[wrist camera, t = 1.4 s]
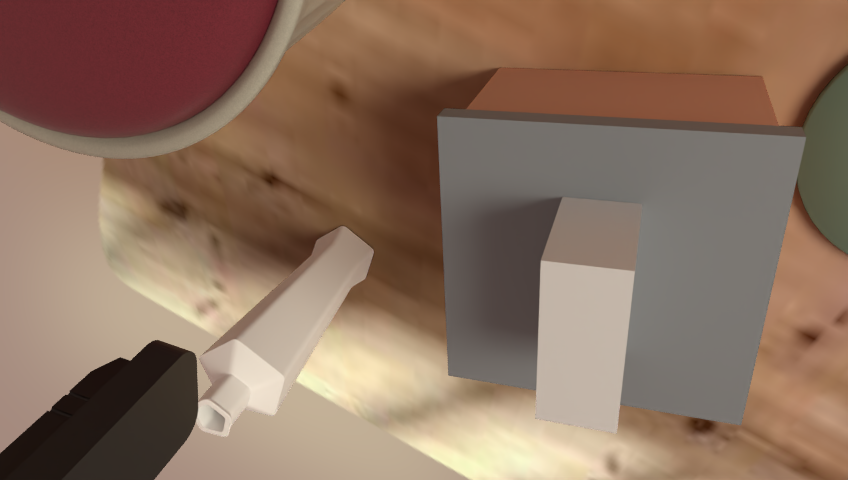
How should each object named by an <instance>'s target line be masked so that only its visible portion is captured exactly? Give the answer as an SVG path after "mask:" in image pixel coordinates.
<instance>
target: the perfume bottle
mask: <svg viewBox="0 0 848 480" xmlns="http://www.w3.org/2000/svg"><path fill="white" fill-rule="evenodd" d="M373 254H374V250H373V249H372V248H371V247H370V246H369V245H368V244H366V243H365V242H364V241H363V240H361V239H360V238H359V237H358V236H356V235H355V234H354V233H353V232H352V231H350V230H349V229H348V228H347V227H345V226H340V227H338V228H337V229H335V230H333V231H331V232H330V233H328V234H326V235H324V236H322V237H321V238H319V239H318V240H317V241H316V244H315V247H314V249H313V252H312V255H311V256H310V257H309V258H308V259H307V260H305V261H304V262H303V263H302V264H301V265H300V266H299V267H298V268H297V269H296V270H294V271H293V272H292V273H291V274H290V275H289V276H288V277H287V278H286V279H285V280H283V281H282V282H281V283H280V284H279V285H278V286H277V287H276V288H275V289H274V290H272V291H271V292H270V293H269V294H268V295H267V296H266V297H265V298H264V299H263V300H262V301H260V302H259V303H258V304H257V305H256V306H255V307H254V308H253V309H252V310H251V311H249V312H248V313H247V314H246V315H245V316H244V317H243V318H242V319H241V320H240V321H238V322H237V323H236V324H235V325H234V326H233V327H232V328H231V329H230V330H229V331H227V332H226V333H225V334H224V335H223V336H222V337H221V338H220V339H219V340H218V341H217V342H215V343H214V344H213V345H212V346H211V347H210V348H209V349H208V350H207V351H206V352H204V353H203V354H202V355H201V356H200V358H199V360H200V362H201V364H202V366H203V368H204V370H205V372H206V373H207V375H208V377H209V379H210V381H211V383H212V386H211V387H210V388H209V389H208V390H207V391H206V393H205V394H204V395H203V396H202V397H201V398H200V400H199V401H198V415H197V419H196V423H197V425H198V427H199V428H200V429H201V430H202V431H204V432H208V433H212V434H216V435H219V436H224V437H226V436H228V434H229V431H230V427H231V426H232V424H233V423H234V422H235V420H236V419H237V418H238V417H239V415H240V414H241V413H242V411H243V410H244V409H245V410H249V411H254V412H257V413H261V414H265V415H270V416H274V415H275V413H276V412H277V410H278V408H279V407H280V405H281V403H282V402H283V400H284V399H285V397H286V395H287V393H288V392H289V390H290V388H291V387H292V385H293V383H294V382H295V380H296V379H297V377H298V375H299V374H300V372H301V370H302V369H303V367H304V365H305V364H306V362H307V360H308V359H309V357H310V355H311V354H312V352H313V350H314V349H315V347H316V345H317V344H318V342H319V340H320V339H321V337H322V335H323V334H324V332H325V330H326V329H327V327H328V325H329V324H330V322H331V321H332V319H333V317H334V316H335V314H336V312H337V311H338V309H339V307H340V306H341V304H342V302H343V301H344V299H345V297H346V296H347V294H348V292H349V291H350V289H351V287H353V286H354V285H356V284H358V283H359V282H361V281H363V280H364V279H365V278H366V276H367V273H368V270H369V267H370V263H371V260H372V257H373Z"/></svg>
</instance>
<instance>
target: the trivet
mask: <svg viewBox="0 0 848 480" xmlns="http://www.w3.org/2000/svg"><path fill="white" fill-rule="evenodd" d="M802 128H803V130H804V133H805V135H806V141H805V145H804V150H803V154H802V159H801V163H800V167H799V172H798V176H797V184H798V189H799V192H800V195H801V198H802V201H803V204H804V206H805V209H806V211H807V212H808V214H809V216H810V218H811V220H812V221H813V223H814V224H815V225H816V227H817V228H818V229H819V230H820V232H821V233H822V234H823V235H824V236H825V237H826V238H827V239H828V240H829V241H830V242H831V243H833V244H834V245H835V246H837V247H838V248H839V249H841V250H842V251H844V252H845V253H846V254H848V64H847V65H846V66H845V67H844V68H843V69H842V70H841V71H840V72H839V73H838V74H837V75H836V76H835V77H834V78H833V79H832V80H831V81H830V82H829V84H828V85H827V86H826V87H825V89H824V90H823V91H822V92H821V94H820V95H819V96H818V98H817V100H816V101H815V103H814V104H813V106H812V108H811V109H810V111H809V113H808V115H807V118H806V120H805V122H804V124H803V126H802Z"/></svg>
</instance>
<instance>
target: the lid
mask: <svg viewBox="0 0 848 480" xmlns="http://www.w3.org/2000/svg"><path fill="white" fill-rule="evenodd" d="M437 127H438V149H439V172H440V194H441V217H442V240H443V262H444V285H445V308H446V330H447V353H448V375H449V376H455V377H461V378H467V379H472V380H478V381H484V382H490V383H496V384H502V385H508V386H514V387H519V388H525V389H531V390H536V414H535V419H539V420H545V421H550V422H555V423H561V424H566V425H572V426H577V427H583V428H588V429H594V430H599V431H605V432H610V433H616V434H617V427H618V418H619V409H620V405H625V406H631V407H637V408H643V409H648V410H654V411H660V412H666V413H672V414H678V415H684V416H690V417H695V418H701V419H707V420H713V421H719V422H725V423H731V424H736V425H741V423H742V419H743V414H744V410H745V406H746V401H747V397H748V392H749V388H750V384H751V379H752V375H753V370H754V366H755V361H756V357H757V353H758V348H759V344H760V339H761V335H762V331H763V326H764V322H765V317H766V313H767V309H768V304H769V300H770V295H771V291H772V286H773V282H774V278H775V273H776V269H777V264H778V260H779V256H780V251H781V247H782V242H783V238H784V234H785V229H786V225H787V220H788V216H789V212H790V207H791V203H792V198H793V194H794V189H795V185H796V181H797V176H798V172H799V167H800V163H801V159H802V154H803V150H804V145H805V141H806V135H805V133H804V130H803V128H802V127H792V126H773V125H754V124H735V123H716V122H697V121H678V120H659V119H640V118H621V117H602V116H583V115H564V114H545V113H526V112H507V111H488V110H469V109H450V108H444V109H443V110H442V111H441V112H440V114H439V115H438V116H437Z"/></svg>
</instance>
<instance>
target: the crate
mask: <svg viewBox="0 0 848 480" xmlns="http://www.w3.org/2000/svg"><path fill="white" fill-rule="evenodd" d="M467 109H469V110H488V111H507V112H526V113H545V114H564V115H583V116H602V117H621V118H640V119H659V120H678V121H697V122H716V123H735V124H754V125H773V126H779V125H778V122H777V119H776V116H775V113H774V110H773V107H772V104H771V101H770V98H769V95H768V92H767V89H766V86H765V83H764V80H763V77H760V76H731V75H701V74H672V73H642V72H613V71H583V70H554V69H524V68H499V69H498V70H497V72H496V73H495V74H494V75H493V77H492V78H491V79H490V80H489V82H488V83H487V84H486V85H485V86H484V88H483V89H482V90H481V91H480V93H479V94H478V95H477V96H476V98H475V99H474V100H473V101H472V102H471V104H470V105H469V106H468V107H467Z"/></svg>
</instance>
